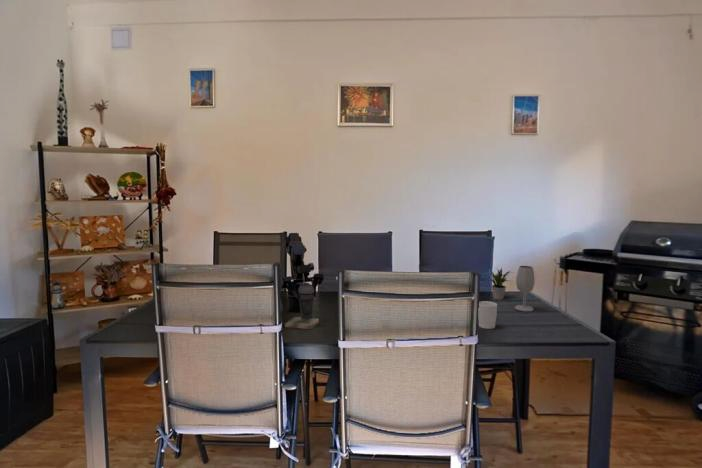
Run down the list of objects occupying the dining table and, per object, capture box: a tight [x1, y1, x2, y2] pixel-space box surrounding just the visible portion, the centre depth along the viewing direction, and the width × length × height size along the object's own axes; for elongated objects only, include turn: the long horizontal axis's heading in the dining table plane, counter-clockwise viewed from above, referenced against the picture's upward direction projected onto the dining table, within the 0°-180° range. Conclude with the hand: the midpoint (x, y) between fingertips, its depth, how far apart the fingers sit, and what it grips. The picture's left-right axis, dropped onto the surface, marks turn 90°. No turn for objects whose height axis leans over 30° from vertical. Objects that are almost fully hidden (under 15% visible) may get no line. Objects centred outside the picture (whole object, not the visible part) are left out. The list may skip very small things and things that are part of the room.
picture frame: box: [284, 316, 320, 330], centre depth 195 cm, size 12×10×2 cm
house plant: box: [488, 267, 515, 300], centre depth 233 cm, size 14×14×16 cm
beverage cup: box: [298, 273, 315, 320], centre depth 192 cm, size 7×7×20 cm
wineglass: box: [514, 265, 536, 313], centre depth 213 cm, size 9×9×21 cm
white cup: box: [477, 300, 498, 330], centre depth 190 cm, size 8×8×10 cm
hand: (307, 297), depth 190 cm, fingers closed on beverage cup, 7 cm apart
